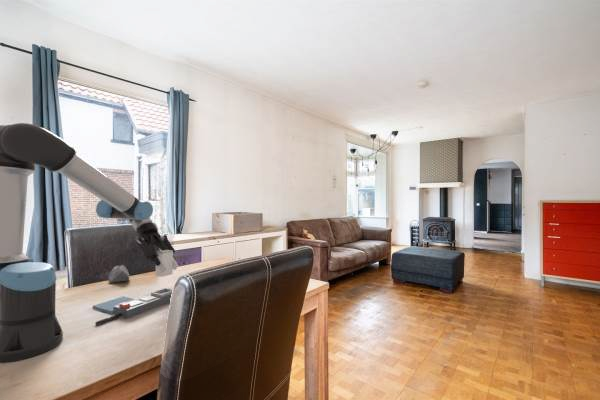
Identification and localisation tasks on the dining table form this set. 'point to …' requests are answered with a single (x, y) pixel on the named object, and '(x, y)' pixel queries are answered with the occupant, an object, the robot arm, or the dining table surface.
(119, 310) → the power strip
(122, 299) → the mat
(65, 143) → the robot arm
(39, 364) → the dining table surface
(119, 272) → the stone
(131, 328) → the dining table surface
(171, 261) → the block
